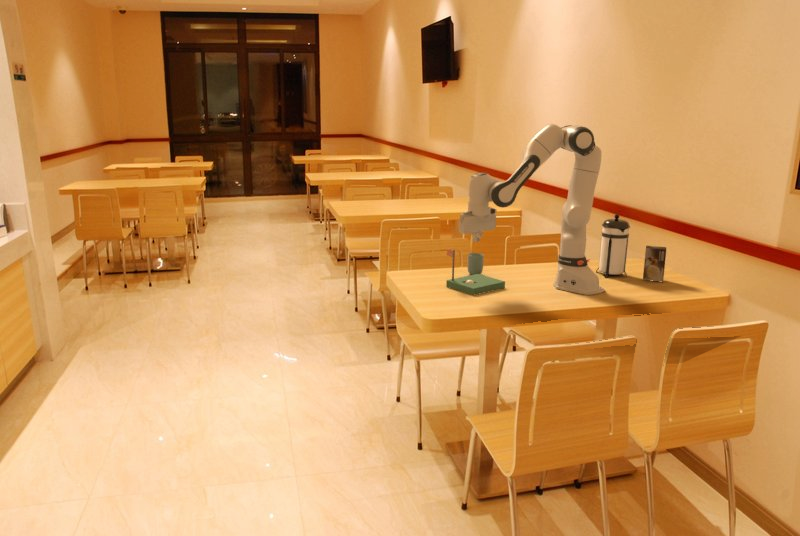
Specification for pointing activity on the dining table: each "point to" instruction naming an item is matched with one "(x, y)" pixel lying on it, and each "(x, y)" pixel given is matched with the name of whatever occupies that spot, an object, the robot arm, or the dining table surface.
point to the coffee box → (654, 263)
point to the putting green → (479, 280)
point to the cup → (475, 263)
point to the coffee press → (614, 246)
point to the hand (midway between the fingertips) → (476, 241)
